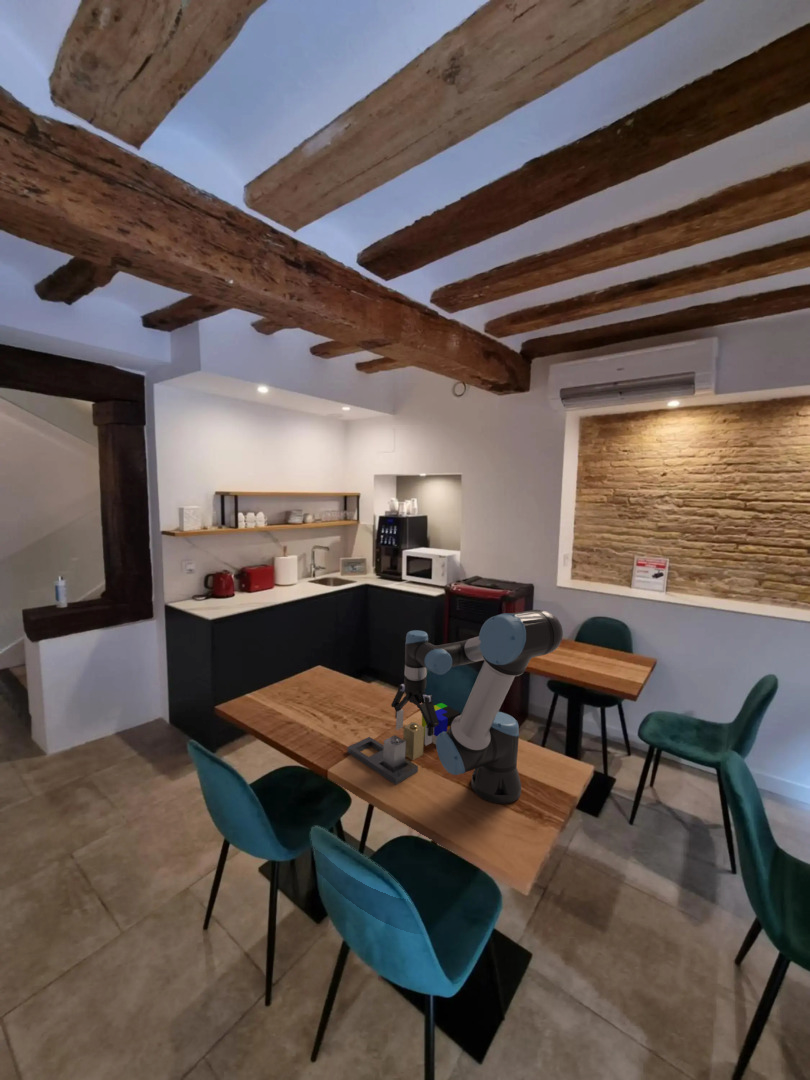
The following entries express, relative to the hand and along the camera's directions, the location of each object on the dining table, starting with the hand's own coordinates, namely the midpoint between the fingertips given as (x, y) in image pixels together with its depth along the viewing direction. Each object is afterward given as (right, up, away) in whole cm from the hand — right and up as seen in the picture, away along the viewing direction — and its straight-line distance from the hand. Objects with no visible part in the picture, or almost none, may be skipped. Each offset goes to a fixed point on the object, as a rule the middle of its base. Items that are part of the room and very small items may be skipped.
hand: (413, 735), depth 156 cm
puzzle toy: (+10, -6, +13) cm, 18 cm away
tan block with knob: (0, -7, +1) cm, 7 cm away
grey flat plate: (-11, -7, -4) cm, 14 cm away
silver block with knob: (-7, -7, -9) cm, 13 cm away
